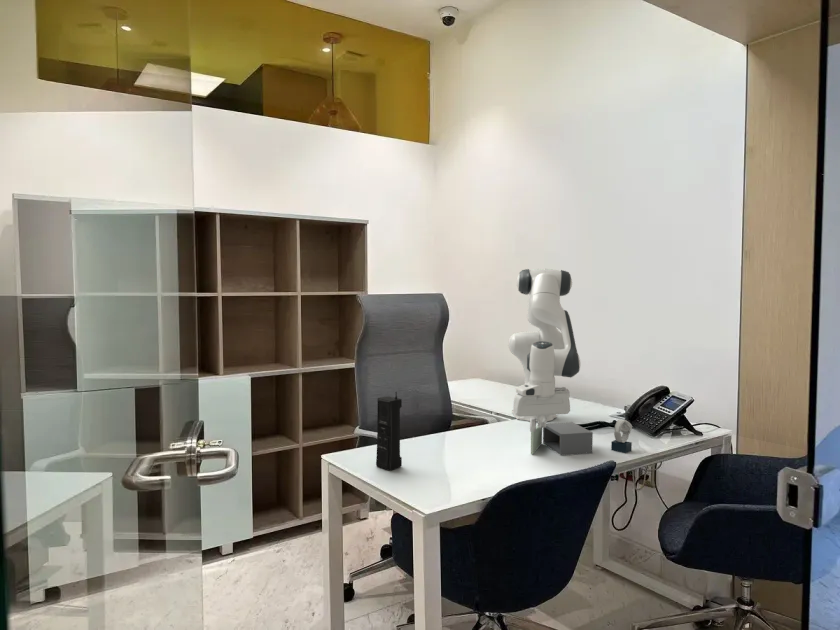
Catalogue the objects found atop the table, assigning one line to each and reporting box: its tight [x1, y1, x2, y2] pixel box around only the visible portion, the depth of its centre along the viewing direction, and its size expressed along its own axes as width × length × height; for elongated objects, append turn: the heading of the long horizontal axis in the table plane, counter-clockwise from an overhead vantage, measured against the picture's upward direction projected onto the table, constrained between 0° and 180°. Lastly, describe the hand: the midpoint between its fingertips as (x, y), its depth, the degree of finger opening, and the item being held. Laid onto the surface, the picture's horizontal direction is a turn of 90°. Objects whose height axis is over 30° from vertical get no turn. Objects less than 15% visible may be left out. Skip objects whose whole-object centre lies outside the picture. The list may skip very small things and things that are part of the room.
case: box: [542, 421, 594, 456], centre depth 198 cm, size 15×12×8 cm
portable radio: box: [375, 392, 403, 472], centre depth 178 cm, size 8×6×25 cm
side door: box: [529, 418, 543, 455], centre depth 197 cm, size 15×2×12 cm, turn 156°
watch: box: [610, 419, 633, 454], centre depth 195 cm, size 6×8×11 cm
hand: (541, 427), depth 191 cm, fingers closed
